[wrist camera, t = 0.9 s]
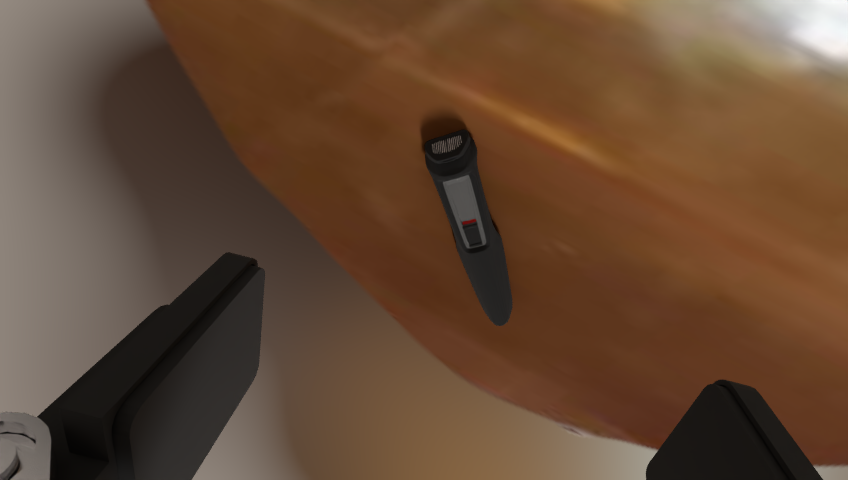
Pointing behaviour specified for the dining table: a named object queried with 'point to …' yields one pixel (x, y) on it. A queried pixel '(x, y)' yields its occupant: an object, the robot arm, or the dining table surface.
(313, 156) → the dining table surface
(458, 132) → the electric trimmer
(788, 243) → the dining table surface
